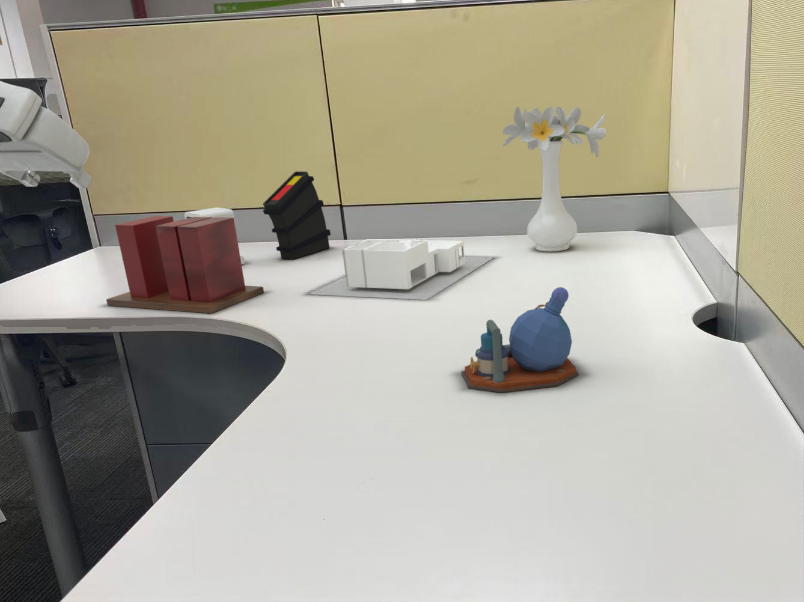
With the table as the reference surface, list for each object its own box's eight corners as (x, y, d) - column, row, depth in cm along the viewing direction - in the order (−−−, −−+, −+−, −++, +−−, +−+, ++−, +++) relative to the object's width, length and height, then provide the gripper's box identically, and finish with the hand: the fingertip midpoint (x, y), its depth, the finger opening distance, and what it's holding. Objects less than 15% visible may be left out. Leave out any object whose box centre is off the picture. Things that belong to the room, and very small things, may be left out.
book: (148, 298, 122) (132, 225, 118) (130, 296, 123) (114, 224, 119) (186, 285, 129) (172, 216, 125) (169, 284, 130) (155, 215, 126)
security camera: (193, 267, 147) (183, 211, 143) (229, 260, 151) (219, 206, 148) (210, 271, 142) (200, 214, 139) (246, 264, 147) (237, 208, 144)
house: (431, 297, 117) (428, 256, 115) (321, 291, 123) (316, 253, 121) (485, 263, 137) (483, 227, 135) (388, 260, 143) (385, 226, 140)
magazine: (341, 236, 160) (310, 170, 149) (304, 278, 152) (269, 211, 142) (326, 235, 161) (294, 170, 151) (289, 277, 154) (253, 211, 143)
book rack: (211, 313, 116) (196, 230, 111) (107, 305, 123) (89, 226, 118) (264, 292, 126) (251, 215, 122) (165, 286, 133) (150, 213, 129)
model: (561, 355, 92) (559, 275, 88) (586, 382, 83) (585, 295, 80) (457, 367, 89) (452, 285, 86) (472, 396, 81) (466, 307, 78)
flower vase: (616, 248, 146) (616, 102, 137) (520, 259, 140) (514, 108, 131) (586, 236, 157) (584, 101, 148) (496, 246, 152) (489, 106, 143)
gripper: (-99, 133, 99) (-5, 201, 111) (19, 132, 92) (106, 204, 104) (-75, 93, 101) (15, 163, 113) (43, 89, 94) (126, 164, 106)
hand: (60, 183), depth 109 cm, fingers open, 8 cm apart
